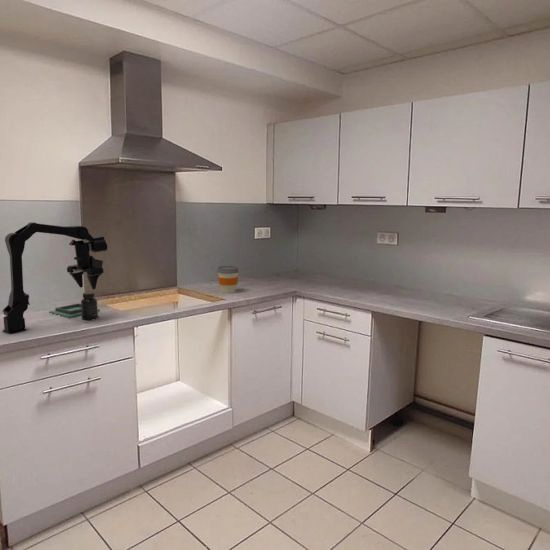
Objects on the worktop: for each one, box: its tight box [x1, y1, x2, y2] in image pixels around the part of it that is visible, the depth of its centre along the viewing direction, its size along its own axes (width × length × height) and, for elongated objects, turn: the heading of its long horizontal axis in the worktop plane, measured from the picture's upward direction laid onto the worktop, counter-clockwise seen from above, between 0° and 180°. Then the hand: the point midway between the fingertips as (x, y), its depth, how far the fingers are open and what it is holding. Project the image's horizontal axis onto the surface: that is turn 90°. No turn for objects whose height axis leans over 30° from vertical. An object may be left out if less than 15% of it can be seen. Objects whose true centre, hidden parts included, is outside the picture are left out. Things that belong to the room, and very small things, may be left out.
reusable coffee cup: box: [217, 265, 239, 294], centre depth 259 cm, size 13×13×15 cm
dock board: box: [48, 302, 101, 319], centre depth 206 cm, size 16×16×2 cm
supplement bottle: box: [80, 291, 99, 321], centre depth 194 cm, size 7×7×12 cm
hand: (87, 288), depth 193 cm, fingers open, 9 cm apart
